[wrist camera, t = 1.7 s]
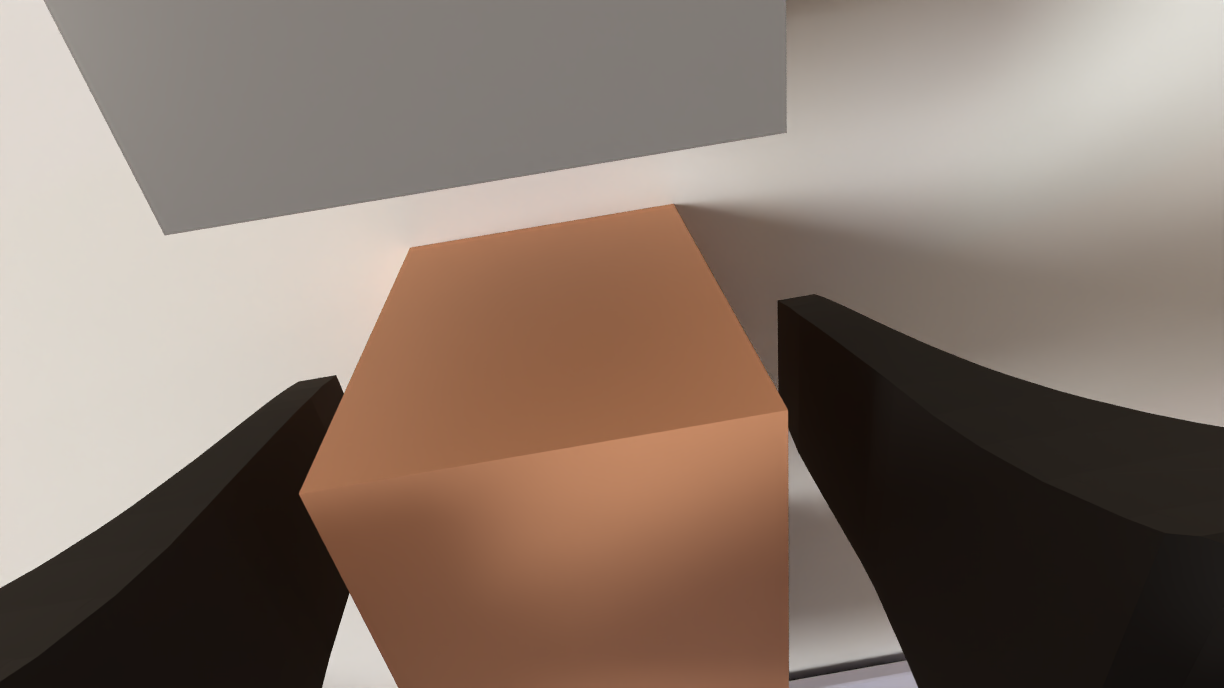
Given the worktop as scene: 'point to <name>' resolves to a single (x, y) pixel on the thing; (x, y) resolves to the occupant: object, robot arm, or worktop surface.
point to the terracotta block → (562, 468)
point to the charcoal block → (410, 92)
